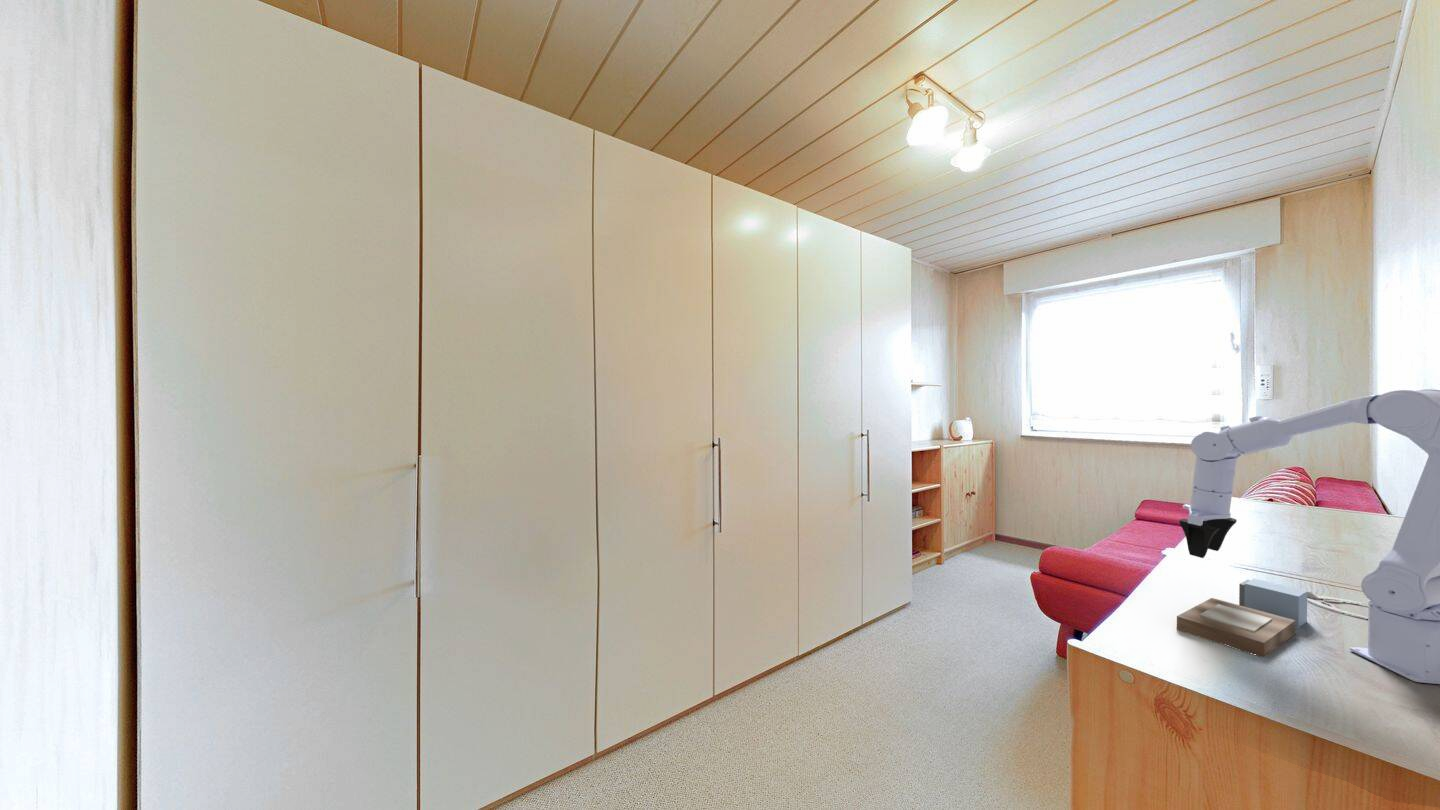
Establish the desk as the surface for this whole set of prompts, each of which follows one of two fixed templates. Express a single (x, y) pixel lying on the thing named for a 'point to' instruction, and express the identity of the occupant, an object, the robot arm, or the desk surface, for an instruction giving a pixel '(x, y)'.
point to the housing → (1274, 599)
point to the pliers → (1330, 604)
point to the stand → (1237, 626)
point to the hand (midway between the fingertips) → (1204, 552)
